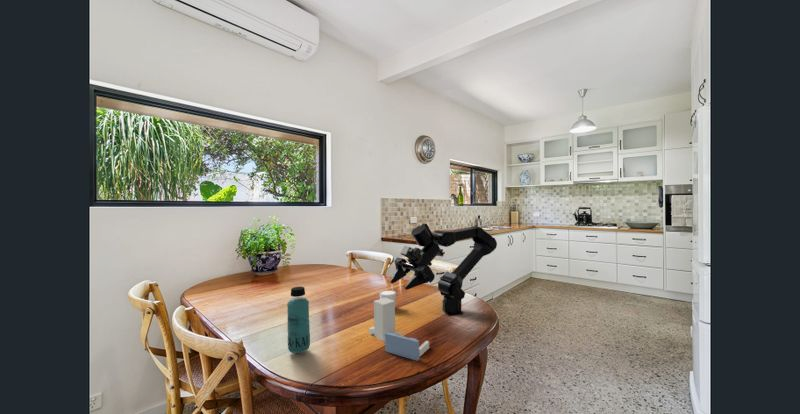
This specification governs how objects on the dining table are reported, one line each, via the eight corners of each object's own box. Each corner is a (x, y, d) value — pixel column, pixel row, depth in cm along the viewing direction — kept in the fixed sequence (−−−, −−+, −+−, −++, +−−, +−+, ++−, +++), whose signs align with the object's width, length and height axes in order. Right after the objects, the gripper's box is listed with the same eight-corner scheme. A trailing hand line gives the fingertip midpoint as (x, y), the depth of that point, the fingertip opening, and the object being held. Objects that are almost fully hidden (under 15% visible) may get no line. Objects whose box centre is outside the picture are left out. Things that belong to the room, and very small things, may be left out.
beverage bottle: (290, 348, 101) (288, 284, 100) (312, 347, 101) (310, 284, 100) (285, 359, 94) (283, 291, 93) (308, 357, 95) (306, 290, 94)
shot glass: (394, 313, 129) (394, 295, 128) (377, 312, 130) (377, 294, 130) (398, 306, 135) (397, 290, 135) (382, 305, 137) (381, 289, 136)
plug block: (386, 331, 111) (385, 297, 111) (395, 336, 107) (394, 301, 107) (374, 336, 108) (373, 300, 108) (383, 341, 104) (382, 304, 104)
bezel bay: (400, 340, 105) (399, 323, 105) (430, 348, 99) (430, 330, 99) (385, 351, 98) (385, 333, 97) (417, 360, 92) (417, 342, 92)
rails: (383, 329, 114) (383, 323, 114) (401, 338, 106) (401, 332, 106) (369, 333, 110) (369, 328, 110) (386, 344, 102) (386, 338, 102)
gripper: (401, 236, 125) (372, 264, 118) (432, 242, 109) (401, 274, 103) (415, 257, 129) (388, 285, 122) (446, 266, 113) (418, 298, 107)
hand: (398, 285), depth 114 cm, fingers open, 9 cm apart
